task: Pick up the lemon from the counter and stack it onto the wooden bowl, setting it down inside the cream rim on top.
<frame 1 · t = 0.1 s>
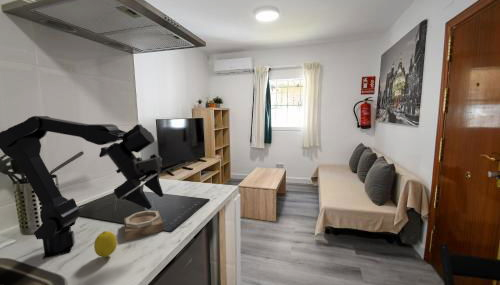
hand: (156, 201, 67), 15 cm above the countertop, tool tilted 30°, fingers open, 9 cm apart
wooden bowl: (143, 227, 81), on the countertop
lemon: (107, 257, 64), on the countertop
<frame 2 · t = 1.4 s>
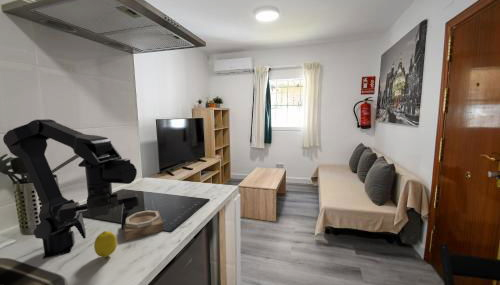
hand: (104, 233, 63), 7 cm above the countertop, tool pointing down, fingers open, 9 cm apart
nothing on the countertop moved.
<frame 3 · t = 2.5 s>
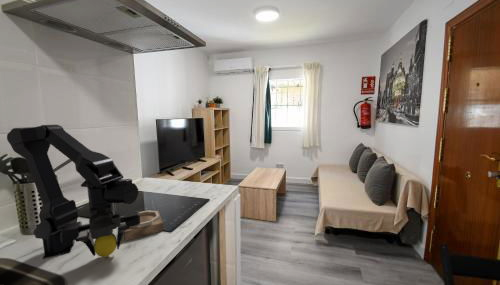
hand: (106, 251, 64), 2 cm above the countertop, tool pointing down, fingers closed on lemon, 5 cm apart
lemon: (107, 257, 64), on the countertop, touching gripper
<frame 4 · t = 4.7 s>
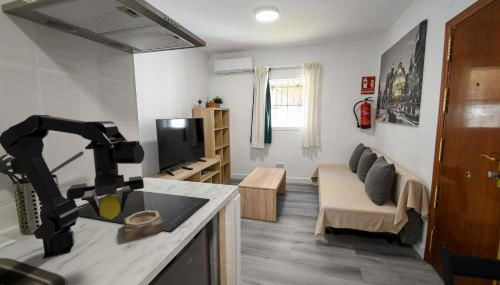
hand: (111, 214, 66), 12 cm above the countertop, tool pointing down, fingers closed on lemon, 5 cm apart
lemon: (111, 220, 66), point 10 cm above the countertop, touching gripper
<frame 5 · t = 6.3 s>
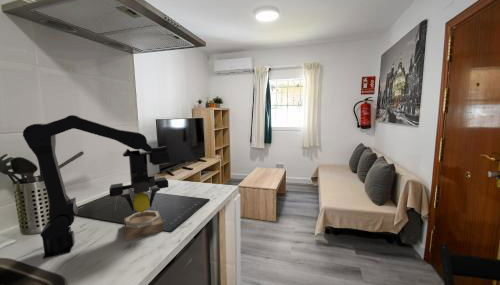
hand: (141, 208, 80), 8 cm above the countertop, tool pointing down, fingers closed on lemon, 5 cm apart
lemon: (142, 213, 80), point 6 cm above the countertop, touching gripper
when the fingers open (7 cm above the countertop, at t = 7.3 s): lemon drops 2 cm, resting on wooden bowl.
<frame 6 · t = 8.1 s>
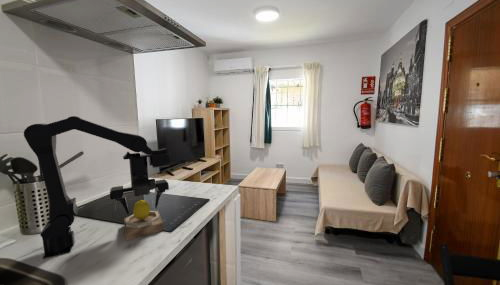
hand: (142, 210, 80), 7 cm above the countertop, tool pointing down, fingers open, 9 cm apart
lemon: (142, 220, 80), point 3 cm above the countertop, touching wooden bowl
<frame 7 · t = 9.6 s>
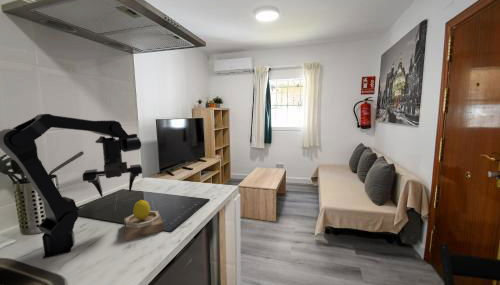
hand: (116, 193, 83), 12 cm above the countertop, tool pointing down, fingers open, 9 cm apart
nothing on the countertop moved.
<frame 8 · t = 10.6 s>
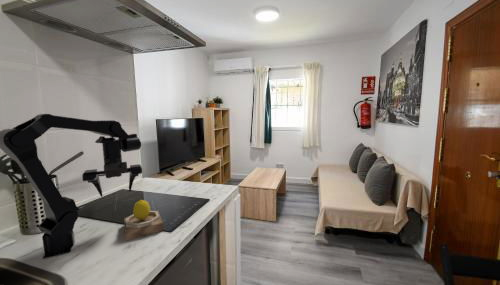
hand: (116, 193, 83), 12 cm above the countertop, tool pointing down, fingers open, 9 cm apart
nothing on the countertop moved.
at the end: lemon inside the target area on the wooden bowl (0.2 cm from its centre), point 2.8 cm above the wooden bowl's base; lemon touching wooden bowl; the gripper is holding nothing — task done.
